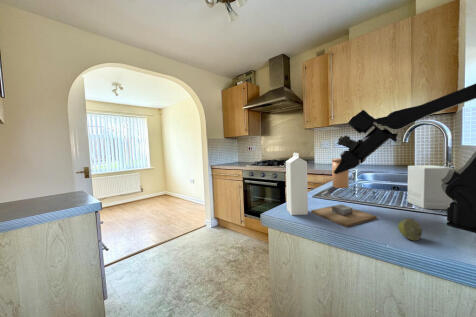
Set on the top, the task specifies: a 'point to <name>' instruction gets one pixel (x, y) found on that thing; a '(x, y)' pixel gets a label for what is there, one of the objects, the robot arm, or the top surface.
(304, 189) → the milk
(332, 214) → the thin square board
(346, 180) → the container with domed lid
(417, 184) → the supplement box
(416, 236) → the lime
